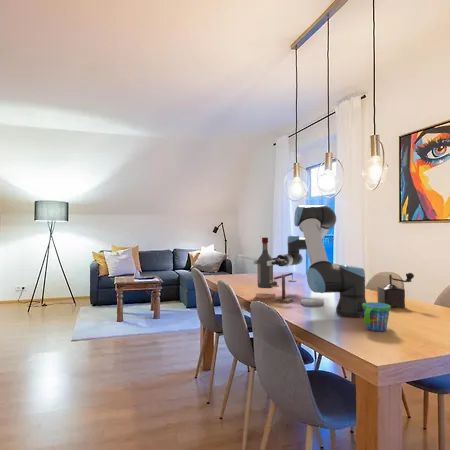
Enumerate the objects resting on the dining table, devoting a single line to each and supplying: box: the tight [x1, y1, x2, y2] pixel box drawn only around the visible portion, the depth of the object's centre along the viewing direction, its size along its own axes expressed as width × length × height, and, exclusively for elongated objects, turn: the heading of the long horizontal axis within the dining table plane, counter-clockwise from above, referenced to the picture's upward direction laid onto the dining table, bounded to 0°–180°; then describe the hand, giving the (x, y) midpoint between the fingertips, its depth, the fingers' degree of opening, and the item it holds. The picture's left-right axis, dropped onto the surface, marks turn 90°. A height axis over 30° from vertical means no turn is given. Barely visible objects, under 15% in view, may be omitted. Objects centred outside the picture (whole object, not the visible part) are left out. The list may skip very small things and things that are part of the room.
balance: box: [271, 272, 297, 304], centre depth 204 cm, size 15×6×17 cm, turn 57°
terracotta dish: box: [255, 291, 277, 300], centre depth 217 cm, size 12×12×2 cm
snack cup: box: [362, 302, 391, 332], centre depth 147 cm, size 16×10×10 cm
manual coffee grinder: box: [376, 272, 415, 309], centre depth 190 cm, size 16×11×18 cm
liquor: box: [256, 237, 274, 289], centre depth 217 cm, size 9×9×30 cm
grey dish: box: [300, 297, 325, 308], centre depth 196 cm, size 12×12×2 cm
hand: (260, 262), depth 215 cm, fingers closed on liquor, 10 cm apart
